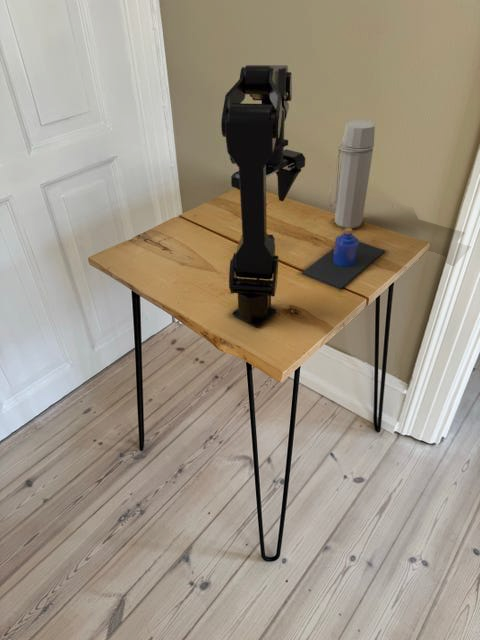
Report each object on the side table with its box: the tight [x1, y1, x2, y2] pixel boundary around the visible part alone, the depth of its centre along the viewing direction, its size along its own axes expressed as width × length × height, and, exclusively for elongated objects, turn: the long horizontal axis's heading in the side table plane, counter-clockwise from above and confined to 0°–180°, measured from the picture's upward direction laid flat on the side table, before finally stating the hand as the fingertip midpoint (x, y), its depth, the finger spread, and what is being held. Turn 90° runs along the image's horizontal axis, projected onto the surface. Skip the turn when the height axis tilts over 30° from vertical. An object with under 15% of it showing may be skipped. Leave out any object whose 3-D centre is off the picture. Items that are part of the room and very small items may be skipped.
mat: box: [301, 241, 386, 290], centre depth 107 cm, size 20×10×1 cm, turn 140°
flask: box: [333, 228, 360, 267], centre depth 104 cm, size 5×5×8 cm
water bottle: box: [328, 119, 376, 229], centre depth 114 cm, size 9×8×25 cm
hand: (268, 207), depth 103 cm, fingers open, 9 cm apart
